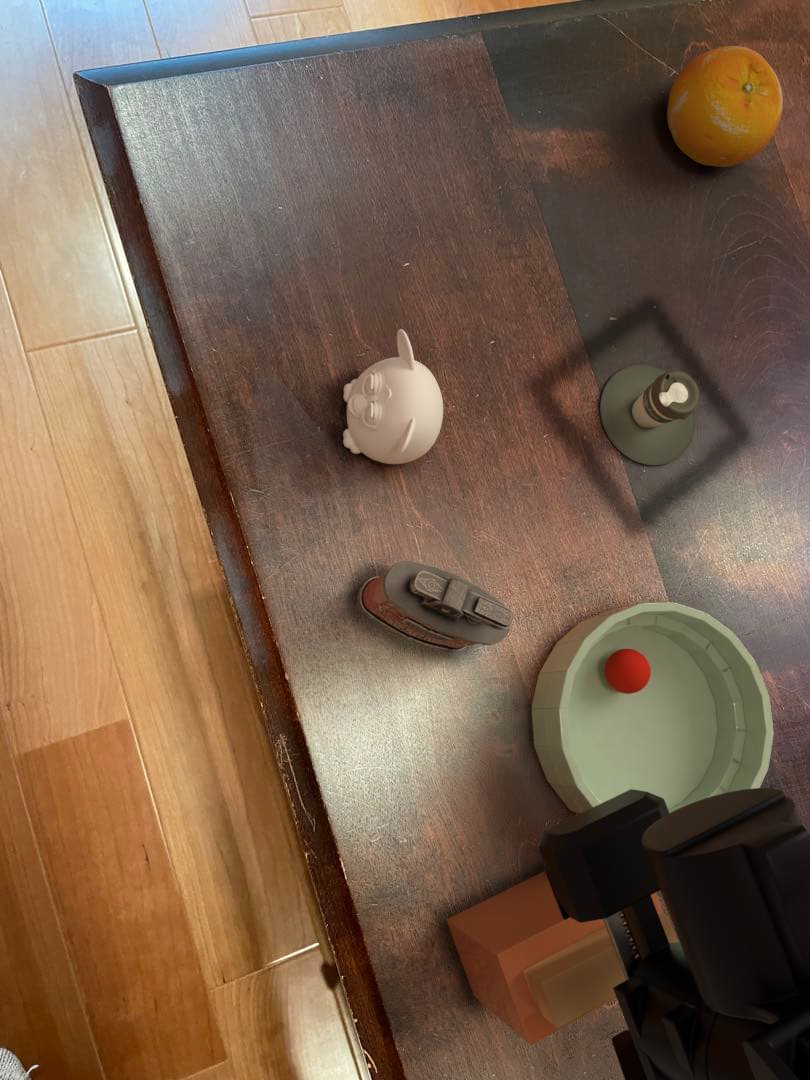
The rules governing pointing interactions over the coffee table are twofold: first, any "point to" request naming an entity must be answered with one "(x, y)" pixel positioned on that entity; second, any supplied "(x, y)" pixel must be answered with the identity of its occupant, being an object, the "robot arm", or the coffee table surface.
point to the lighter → (434, 608)
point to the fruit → (725, 106)
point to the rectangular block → (516, 949)
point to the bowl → (652, 710)
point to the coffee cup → (649, 413)
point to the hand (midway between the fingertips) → (589, 957)
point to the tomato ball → (627, 671)
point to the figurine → (393, 408)
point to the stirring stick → (579, 976)
